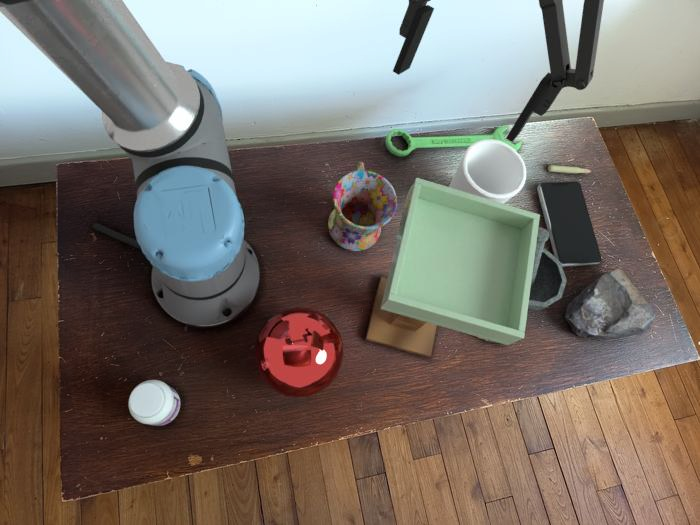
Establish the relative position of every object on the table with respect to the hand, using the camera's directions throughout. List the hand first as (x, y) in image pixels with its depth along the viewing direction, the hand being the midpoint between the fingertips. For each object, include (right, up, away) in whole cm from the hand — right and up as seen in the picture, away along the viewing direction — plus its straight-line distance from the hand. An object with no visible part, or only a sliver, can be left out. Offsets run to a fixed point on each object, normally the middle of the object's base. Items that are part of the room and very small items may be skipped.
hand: (455, 102), depth 55 cm
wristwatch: (+11, -28, +28) cm, 41 cm away
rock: (+31, -28, +32) cm, 53 cm away
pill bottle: (-37, -36, +18) cm, 54 cm away
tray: (+1, -17, +4) cm, 18 cm away
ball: (-19, -31, +22) cm, 42 cm away
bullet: (+24, 0, +39) cm, 46 cm away
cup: (+8, -7, +35) cm, 37 cm away
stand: (-3, -25, +27) cm, 37 cm away
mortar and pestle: (+16, -20, +32) cm, 41 cm away
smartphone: (+26, -10, +37) cm, 46 cm away
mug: (-10, -10, +31) cm, 34 cm away
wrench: (+7, +7, +39) cm, 40 cm away
